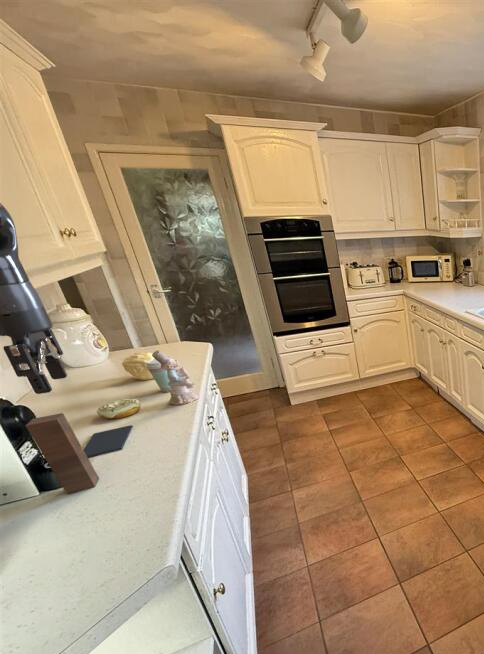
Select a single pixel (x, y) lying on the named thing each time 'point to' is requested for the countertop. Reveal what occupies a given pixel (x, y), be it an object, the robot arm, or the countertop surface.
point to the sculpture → (138, 365)
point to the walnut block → (63, 452)
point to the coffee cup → (159, 374)
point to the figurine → (176, 380)
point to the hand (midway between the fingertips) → (52, 385)
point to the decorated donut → (119, 409)
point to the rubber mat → (107, 441)
